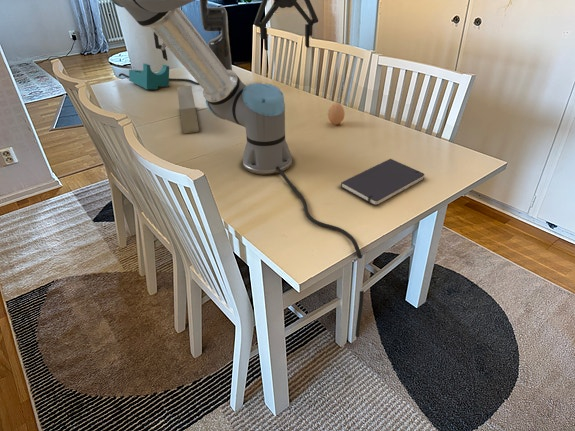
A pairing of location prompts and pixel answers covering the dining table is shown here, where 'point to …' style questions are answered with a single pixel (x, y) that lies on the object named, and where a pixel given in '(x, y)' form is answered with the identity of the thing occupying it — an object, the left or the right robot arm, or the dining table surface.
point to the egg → (336, 113)
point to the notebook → (382, 181)
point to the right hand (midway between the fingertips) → (286, 48)
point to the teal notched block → (150, 77)
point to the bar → (187, 109)
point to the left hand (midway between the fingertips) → (178, 58)
